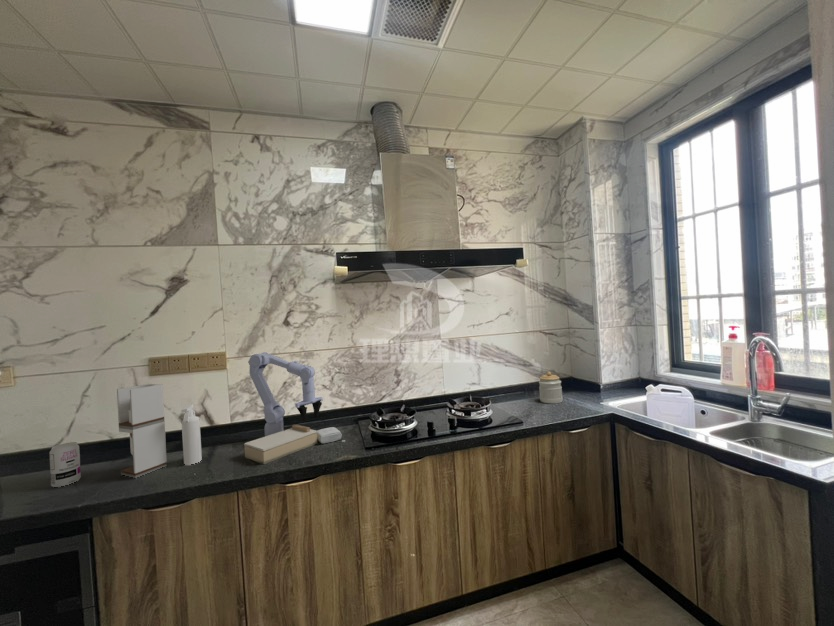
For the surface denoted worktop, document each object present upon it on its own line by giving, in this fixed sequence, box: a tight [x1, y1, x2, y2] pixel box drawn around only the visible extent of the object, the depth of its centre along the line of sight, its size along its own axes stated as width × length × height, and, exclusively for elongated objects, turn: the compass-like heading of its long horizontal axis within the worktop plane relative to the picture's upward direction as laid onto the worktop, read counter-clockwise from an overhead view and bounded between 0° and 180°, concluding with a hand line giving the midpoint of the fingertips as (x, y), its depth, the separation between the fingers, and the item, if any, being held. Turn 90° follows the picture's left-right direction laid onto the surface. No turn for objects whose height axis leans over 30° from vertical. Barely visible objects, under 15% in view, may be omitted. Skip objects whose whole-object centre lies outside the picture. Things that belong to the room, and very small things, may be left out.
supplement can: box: [48, 441, 82, 488], centre depth 136 cm, size 8×8×15 cm
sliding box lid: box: [243, 424, 318, 451], centre depth 156 cm, size 16×26×3 cm, turn 143°
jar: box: [538, 371, 564, 404], centre depth 207 cm, size 13×13×18 cm
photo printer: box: [316, 426, 343, 444], centre depth 167 cm, size 10×4×12 cm
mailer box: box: [244, 433, 318, 465], centre depth 156 cm, size 16×26×5 cm, turn 143°
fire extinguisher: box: [181, 403, 203, 466], centre depth 150 cm, size 7×12×25 cm, turn 13°
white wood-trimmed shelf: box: [116, 383, 168, 479], centre depth 144 cm, size 11×11×35 cm
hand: (310, 418), depth 171 cm, fingers open, 6 cm apart
